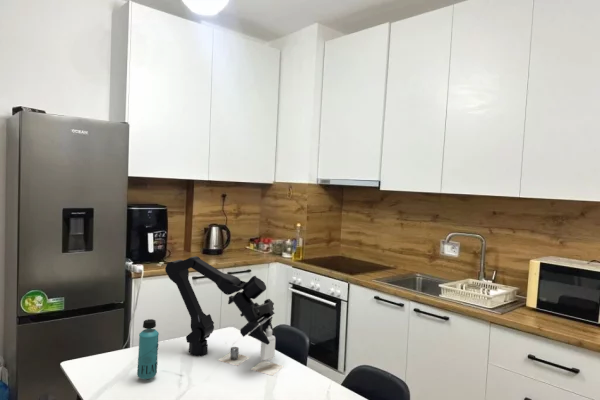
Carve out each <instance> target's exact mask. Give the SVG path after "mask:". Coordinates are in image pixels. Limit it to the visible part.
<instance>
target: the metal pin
mask: <svg viewBox="0 0 600 400" xmlns="http://www.w3.org/2000/svg"><path fill="white" fill-rule="evenodd" d="M239 349H240V348H239V347H238V346H232V347H230V352H231V354H230V359H231V360H238V354H239V353H240V352H239Z"/></svg>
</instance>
